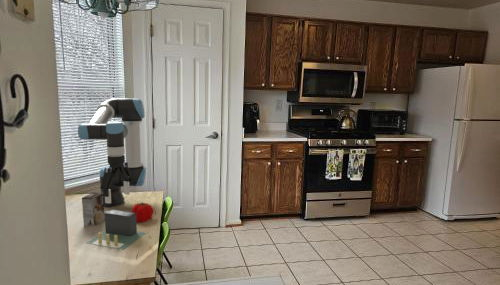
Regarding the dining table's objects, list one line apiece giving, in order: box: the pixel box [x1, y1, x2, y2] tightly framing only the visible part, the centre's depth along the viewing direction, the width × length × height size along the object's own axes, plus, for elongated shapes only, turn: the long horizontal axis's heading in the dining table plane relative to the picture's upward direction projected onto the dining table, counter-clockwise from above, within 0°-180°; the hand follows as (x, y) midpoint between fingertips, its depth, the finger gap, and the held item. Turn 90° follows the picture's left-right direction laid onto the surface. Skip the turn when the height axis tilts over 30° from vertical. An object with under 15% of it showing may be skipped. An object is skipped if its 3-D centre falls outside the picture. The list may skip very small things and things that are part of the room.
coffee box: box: [81, 192, 106, 227], centre depth 172 cm, size 9×6×16 cm
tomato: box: [131, 201, 154, 223], centre depth 179 cm, size 11×13×10 cm
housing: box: [104, 209, 138, 237], centre depth 161 cm, size 5×14×10 cm, turn 75°
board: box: [86, 230, 147, 251], centre depth 156 cm, size 18×20×6 cm
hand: (117, 198), depth 159 cm, fingers open, 13 cm apart
